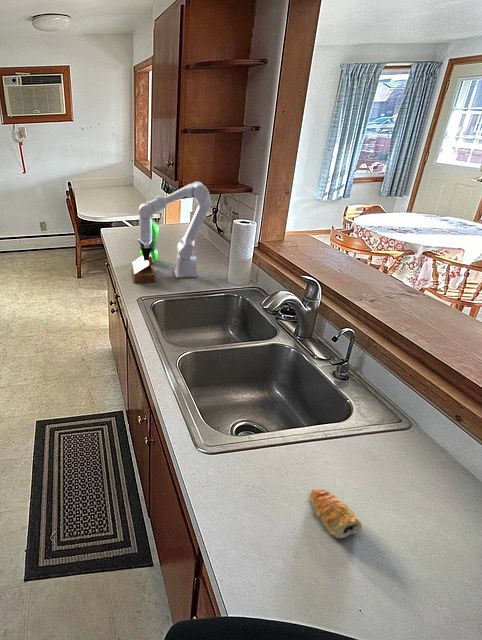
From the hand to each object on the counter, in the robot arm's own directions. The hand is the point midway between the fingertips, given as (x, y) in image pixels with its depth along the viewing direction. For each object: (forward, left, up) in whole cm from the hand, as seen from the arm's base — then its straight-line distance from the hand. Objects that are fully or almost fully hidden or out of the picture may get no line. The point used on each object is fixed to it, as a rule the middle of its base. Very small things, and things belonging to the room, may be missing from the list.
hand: (145, 257), depth 186 cm
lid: (+1, 0, -3) cm, 3 cm away
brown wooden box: (+1, 0, -10) cm, 10 cm away
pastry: (-27, +123, -10) cm, 126 cm away
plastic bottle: (-3, -20, -10) cm, 23 cm away
